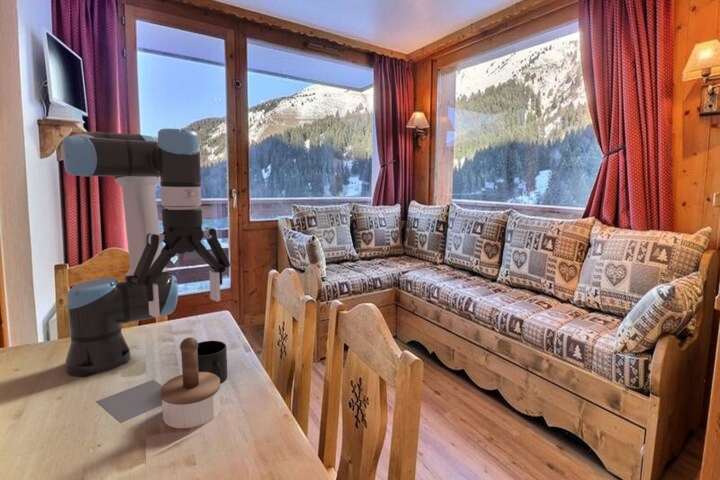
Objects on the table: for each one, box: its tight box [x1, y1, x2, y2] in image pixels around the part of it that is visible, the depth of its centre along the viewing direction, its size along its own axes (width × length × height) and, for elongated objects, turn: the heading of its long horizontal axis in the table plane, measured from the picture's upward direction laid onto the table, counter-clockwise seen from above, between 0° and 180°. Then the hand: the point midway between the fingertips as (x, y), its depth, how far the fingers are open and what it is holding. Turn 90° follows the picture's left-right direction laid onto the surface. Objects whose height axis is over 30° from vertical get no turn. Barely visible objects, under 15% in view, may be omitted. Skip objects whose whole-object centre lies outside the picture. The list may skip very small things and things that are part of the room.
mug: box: [197, 340, 228, 385], centre depth 102 cm, size 9×12×9 cm
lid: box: [161, 337, 221, 405], centre depth 87 cm, size 12×12×12 cm
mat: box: [95, 379, 163, 424], centre depth 93 cm, size 13×13×1 cm
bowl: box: [161, 387, 221, 429], centre depth 88 cm, size 12×12×6 cm
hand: (186, 307), depth 85 cm, fingers open, 13 cm apart
